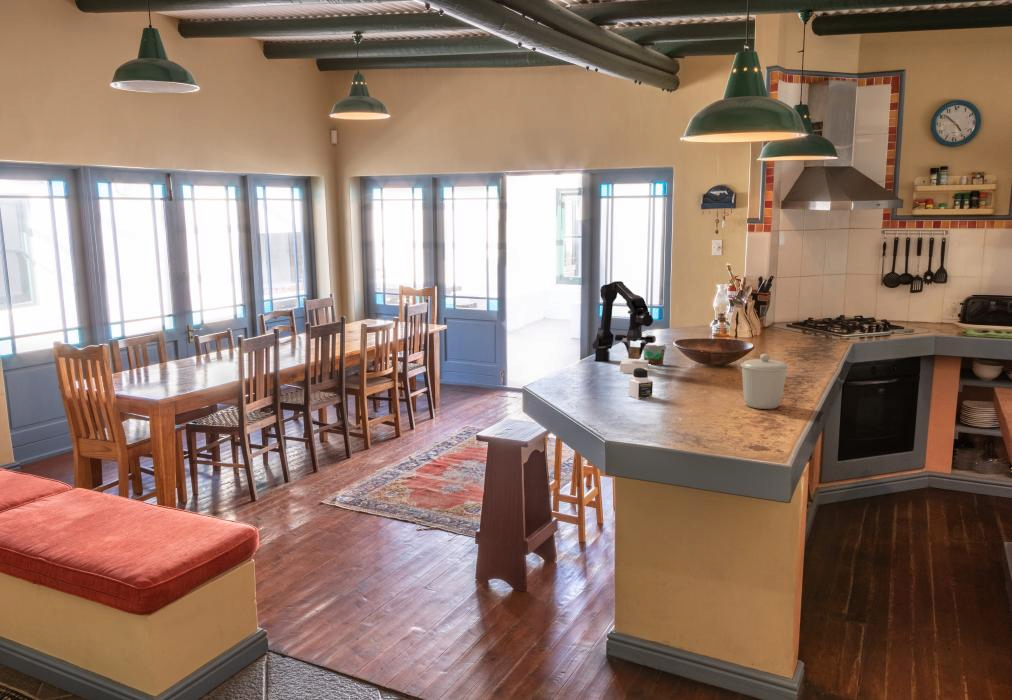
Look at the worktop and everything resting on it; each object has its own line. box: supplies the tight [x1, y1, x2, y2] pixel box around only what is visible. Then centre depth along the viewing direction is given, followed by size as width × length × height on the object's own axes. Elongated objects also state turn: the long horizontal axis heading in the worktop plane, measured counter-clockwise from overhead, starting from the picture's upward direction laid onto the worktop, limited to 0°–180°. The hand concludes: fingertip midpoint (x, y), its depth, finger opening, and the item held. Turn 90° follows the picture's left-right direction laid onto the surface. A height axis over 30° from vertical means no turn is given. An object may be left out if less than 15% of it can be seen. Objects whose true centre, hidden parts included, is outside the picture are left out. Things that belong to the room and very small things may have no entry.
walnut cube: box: [627, 346, 642, 360], centre depth 381 cm, size 5×5×5 cm
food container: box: [643, 344, 667, 366], centre depth 399 cm, size 12×6×10 cm, turn 62°
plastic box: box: [619, 358, 649, 374], centre depth 382 cm, size 12×12×5 cm
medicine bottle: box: [628, 368, 654, 400], centre depth 328 cm, size 7×7×12 cm
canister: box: [740, 353, 790, 410], centre depth 312 cm, size 18×18×21 cm
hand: (634, 356), depth 381 cm, fingers closed on walnut cube, 5 cm apart
